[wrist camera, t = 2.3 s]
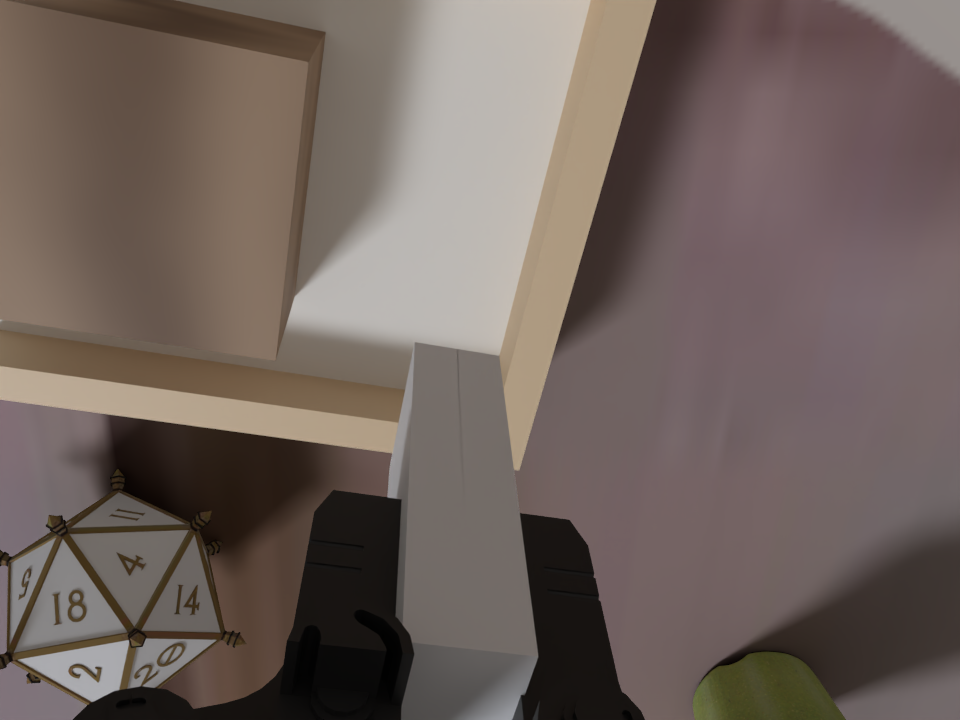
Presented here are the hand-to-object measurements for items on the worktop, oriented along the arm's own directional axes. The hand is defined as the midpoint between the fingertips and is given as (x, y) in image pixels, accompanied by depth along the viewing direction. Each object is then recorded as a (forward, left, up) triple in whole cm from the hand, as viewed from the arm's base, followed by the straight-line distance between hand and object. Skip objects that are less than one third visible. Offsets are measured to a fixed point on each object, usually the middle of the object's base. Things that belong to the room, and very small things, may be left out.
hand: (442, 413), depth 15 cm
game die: (-9, -17, -15) cm, 24 cm away
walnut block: (-8, 0, -12) cm, 14 cm away
